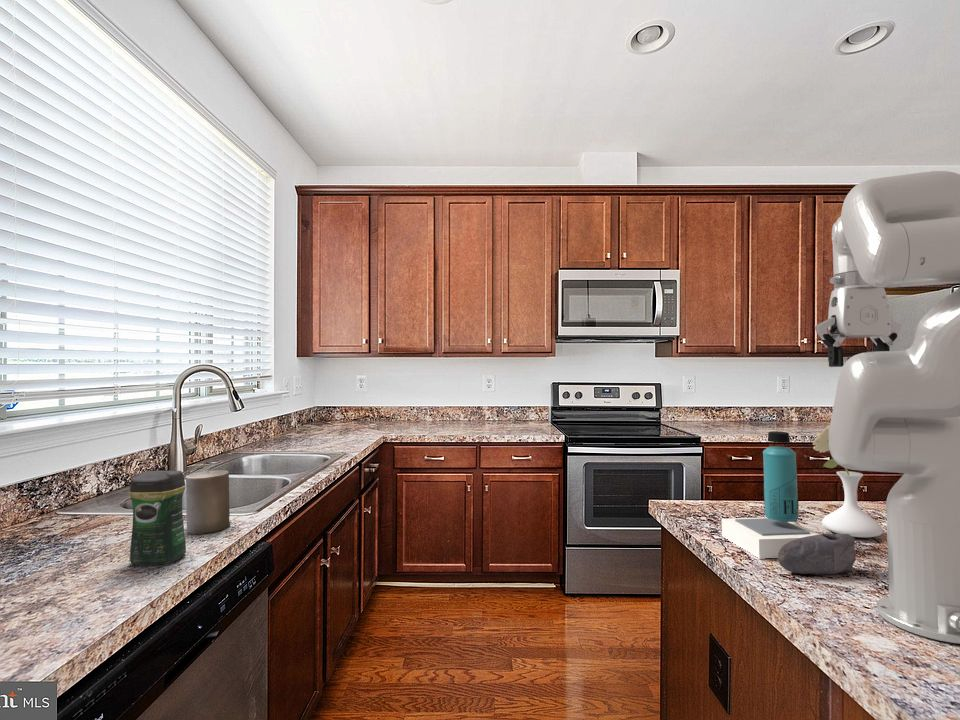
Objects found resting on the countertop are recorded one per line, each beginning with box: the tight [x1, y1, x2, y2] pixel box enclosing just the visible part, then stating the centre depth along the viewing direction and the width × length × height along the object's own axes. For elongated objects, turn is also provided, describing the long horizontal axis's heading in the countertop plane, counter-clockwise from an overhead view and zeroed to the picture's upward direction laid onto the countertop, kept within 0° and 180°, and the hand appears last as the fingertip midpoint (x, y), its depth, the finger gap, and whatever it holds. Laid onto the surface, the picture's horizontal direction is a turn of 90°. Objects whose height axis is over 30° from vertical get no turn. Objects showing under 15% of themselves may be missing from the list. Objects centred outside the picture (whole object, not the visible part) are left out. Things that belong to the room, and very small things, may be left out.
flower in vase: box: [812, 424, 884, 539], centre depth 114 cm, size 13×11×25 cm
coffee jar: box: [129, 470, 187, 566], centre depth 105 cm, size 10×8×19 cm
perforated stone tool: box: [777, 533, 857, 575], centre depth 93 cm, size 15×5×7 cm, turn 91°
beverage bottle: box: [762, 431, 800, 523], centre depth 108 cm, size 6×7×20 cm
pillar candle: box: [185, 468, 231, 535], centre depth 126 cm, size 10×10×15 cm
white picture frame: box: [721, 516, 820, 560], centre depth 107 cm, size 14×14×4 cm
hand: (859, 366), depth 102 cm, fingers open, 9 cm apart
